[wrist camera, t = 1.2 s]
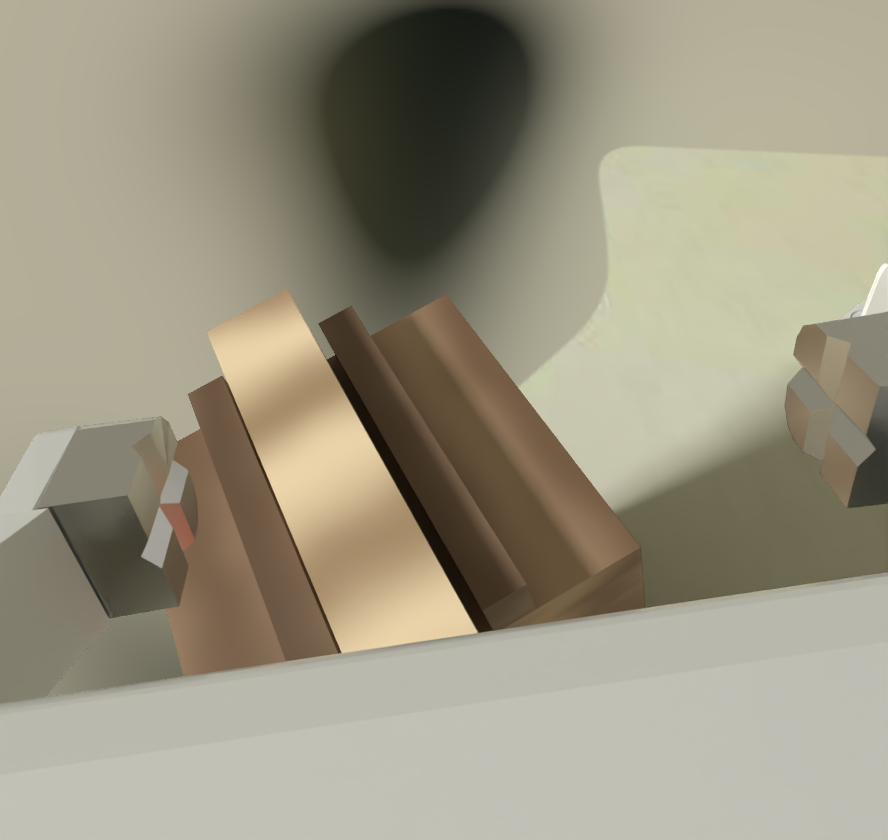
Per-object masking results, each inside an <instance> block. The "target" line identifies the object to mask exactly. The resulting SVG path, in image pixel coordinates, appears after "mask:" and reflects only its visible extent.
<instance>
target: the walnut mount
mask: <svg viewBox="0 0 888 840" xmlns="http://www.w3.org/2000/svg"><path fill="white" fill-rule="evenodd" d="M319 326H320V327H321V329H322V331H323V333H324V335H325V337H326V338H327V340H328V342H329V344H330V346H331V348H332V349H333V351H334V353H335V356H333V357H331V358H329V359H328V360H327V361H328V363H329V364H330V366H331V368H332V370H333V372H334V373H335V375H336V377H337V379H338V381H339V382H340V384H341V386H342V388H343V390H344V391H345V393H346V395H347V397H348V399H349V400H350V402H351V404H352V406H353V408H354V409H355V411H356V413H357V415H358V417H359V418H360V420H361V422H362V424H363V426H364V427H365V429H366V431H367V433H368V435H369V436H370V438H371V440H372V442H373V444H374V445H375V447H376V449H377V451H378V452H379V454H380V456H381V458H382V460H383V461H384V463H385V465H386V467H387V469H388V470H389V472H390V474H391V476H392V478H393V479H394V481H395V483H396V485H397V487H398V488H399V490H400V492H401V494H402V496H403V497H404V499H405V501H406V503H407V505H408V506H409V508H410V510H411V512H412V514H413V515H414V517H415V519H416V521H417V523H418V524H419V526H420V528H421V530H422V532H423V533H424V535H425V537H426V539H427V540H428V542H429V544H430V546H431V548H432V549H433V551H434V553H435V555H436V557H437V558H438V560H439V562H440V564H441V566H442V567H443V569H444V571H445V573H446V575H447V576H448V578H449V580H450V582H451V584H452V585H453V587H454V589H455V591H456V593H457V594H458V596H459V598H460V600H461V602H462V603H463V605H464V607H465V609H466V611H467V612H468V614H469V616H470V618H471V620H472V621H473V623H474V625H475V627H476V628H477V630H478V632H479V633H481V632H488V631H495V630H501V629H508V628H515V627H521V626H528V625H535V624H541V623H548V622H555V621H561V620H568V619H575V618H581V617H588V616H595V615H601V614H608V613H615V612H621V611H628V610H635V609H641V608H645V600H644V587H643V574H642V560H641V547H640V546H639V545H638V543H637V542H636V541H635V540H634V538H633V537H632V536H631V534H630V533H629V532H628V530H627V529H626V528H625V526H624V525H623V524H622V523H621V521H620V520H619V519H618V517H617V516H616V515H615V513H614V512H613V511H612V510H611V508H610V507H609V506H608V504H607V503H606V502H605V500H604V499H603V498H602V497H601V495H600V494H599V493H598V491H597V490H596V489H595V487H594V486H593V485H592V484H591V482H590V481H589V480H588V478H587V477H586V476H585V474H584V473H583V472H582V471H581V469H580V468H579V467H578V465H577V464H576V463H575V461H574V460H573V459H572V457H571V456H570V455H569V454H568V452H567V451H566V450H565V448H564V447H563V446H562V444H561V443H560V442H559V441H558V439H557V438H556V437H555V435H554V434H553V433H552V431H551V430H550V429H549V428H548V426H547V425H546V424H545V422H544V421H543V420H542V418H541V417H540V416H539V415H538V413H537V412H536V411H535V409H534V408H533V407H532V405H531V404H530V403H529V402H528V400H527V399H526V398H525V396H524V395H523V394H522V392H521V391H520V390H519V389H518V387H517V386H516V385H515V383H514V382H513V381H512V379H511V378H510V377H509V375H508V374H507V373H506V372H505V370H504V369H503V368H502V366H501V365H500V364H499V362H498V361H497V360H496V359H495V357H494V356H493V355H492V353H491V352H490V351H489V349H488V348H487V347H486V346H485V344H484V343H483V342H482V340H481V339H480V338H479V337H478V335H477V334H476V333H475V331H474V330H473V329H472V328H471V326H470V325H469V323H468V322H467V321H466V320H465V318H464V317H463V316H462V314H461V313H460V312H459V311H458V309H457V308H456V306H455V305H454V304H453V303H452V301H451V300H450V299H449V298H448V296H447V295H445V296H443V297H441V298H439V299H438V300H436V301H434V302H432V303H430V304H428V305H427V306H425V307H423V308H421V309H419V310H417V311H415V312H414V313H412V314H410V315H408V316H406V317H404V318H403V319H401V320H399V321H397V322H396V323H393V324H392V325H390V326H388V327H386V328H384V329H383V330H381V331H379V332H377V333H375V334H373V335H372V336H370V335H369V333H368V331H367V330H366V328H365V327H364V325H363V323H362V322H361V320H360V319H359V317H358V315H357V314H356V312H355V311H354V309H353V308H352V306H350V307H348V308H346V309H345V310H343V311H341V312H339V313H337V314H335V315H333V316H332V317H330V318H328V319H326V320H324V321H322V322H321V323H319ZM188 396H189V399H190V401H191V404H192V407H193V410H194V412H195V415H196V418H197V420H198V423H199V426H200V429H199V430H198V431H196V432H194V433H192V434H190V435H188V436H187V437H185V438H183V439H181V440H179V441H177V442H178V444H177V447H176V451H175V454H174V458H173V460H174V461H176V462H177V463H179V464H180V465H181V466H183V467H184V468H186V469H187V470H189V473H190V476H191V478H192V481H193V484H194V487H195V492H196V496H197V501H198V527H197V532H196V537H195V541H194V542H193V543H192V544H191V545H189V546H188V547H187V548H186V549H185V550H184V551H183V553H184V556H185V558H186V560H187V563H188V565H189V568H188V572H187V576H186V580H185V584H184V588H183V593H182V597H181V601H180V605H179V606H178V607H173V608H167V609H166V612H167V616H168V619H169V623H170V627H171V630H172V634H173V638H174V641H175V645H176V649H177V653H178V656H179V660H180V664H181V667H182V671H183V675H184V676H191V675H197V674H204V673H211V672H218V671H224V670H231V669H238V668H245V667H252V666H258V665H265V664H272V663H279V662H285V661H292V660H299V659H306V658H312V657H319V656H326V655H333V654H339V653H342V652H341V650H340V648H339V645H338V643H337V641H336V638H335V636H334V633H333V631H332V629H331V626H330V624H329V622H328V619H327V617H326V614H325V612H324V610H323V607H322V605H321V603H320V600H319V598H318V595H317V593H316V591H315V588H314V586H313V584H312V581H311V579H310V576H309V574H308V572H307V569H306V567H305V565H304V562H303V560H302V557H301V555H300V553H299V550H298V548H297V546H296V543H295V541H294V538H293V536H292V534H291V531H290V529H289V527H288V524H287V522H286V520H285V517H284V515H283V512H282V510H281V508H280V505H279V503H278V501H277V498H276V496H275V493H274V491H273V489H272V486H271V484H270V482H269V479H268V477H267V474H266V472H265V470H264V467H263V465H262V463H261V460H260V458H259V455H258V453H257V451H256V448H255V446H254V444H253V441H252V439H251V436H250V434H249V432H248V429H247V427H246V425H245V422H244V420H243V417H242V415H241V413H240V410H239V408H238V406H237V403H236V401H235V398H234V396H233V394H232V391H231V389H230V387H229V384H228V383H227V382H226V380H225V379H224V378H223V376H221V377H219V378H217V379H215V380H213V381H211V382H210V383H208V384H206V385H204V386H202V387H200V388H198V389H197V390H195V391H193V392H191V393H189V394H188Z"/></svg>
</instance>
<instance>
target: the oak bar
mask: <svg viewBox="0 0 888 840" xmlns="http://www.w3.org/2000/svg"><path fill="white" fill-rule="evenodd" d="M207 334H208V337H209V339H210V342H211V344H212V346H213V349H214V351H215V353H216V355H217V358H218V360H219V363H220V365H221V368H222V370H223V372H224V375H225V377H226V379H227V382H228V384H229V387H230V389H231V391H232V394H233V396H234V398H235V401H236V403H237V406H238V408H239V410H240V413H241V415H242V417H243V420H244V422H245V425H246V427H247V429H248V432H249V434H250V436H251V439H252V441H253V444H254V446H255V448H256V451H257V453H258V455H259V458H260V460H261V463H262V465H263V467H264V470H265V472H266V474H267V477H268V479H269V482H270V484H271V486H272V489H273V491H274V493H275V496H276V498H277V501H278V503H279V505H280V508H281V510H282V512H283V515H284V517H285V520H286V522H287V524H288V527H289V529H290V531H291V534H292V536H293V538H294V541H295V543H296V546H297V548H298V550H299V553H300V555H301V557H302V560H303V562H304V565H305V567H306V569H307V572H308V574H309V576H310V579H311V581H312V584H313V586H314V588H315V591H316V593H317V595H318V598H319V600H320V603H321V605H322V607H323V610H324V612H325V614H326V617H327V619H328V622H329V624H330V626H331V629H332V631H333V633H334V636H335V638H336V641H337V643H338V645H339V648H340V650H341V652H342V653H346V652H353V651H360V650H366V649H373V648H380V647H387V646H393V645H400V644H407V643H414V642H420V641H427V640H434V639H441V638H448V637H454V636H461V635H468V634H475V633H479V632H478V630H477V628H476V627H475V625H474V623H473V621H472V620H471V618H470V616H469V614H468V612H467V611H466V609H465V607H464V605H463V603H462V602H461V600H460V598H459V596H458V594H457V593H456V591H455V589H454V587H453V585H452V584H451V582H450V580H449V578H448V576H447V575H446V573H445V571H444V569H443V567H442V566H441V564H440V562H439V560H438V558H437V557H436V555H435V553H434V551H433V549H432V548H431V546H430V544H429V542H428V540H427V539H426V537H425V535H424V533H423V532H422V530H421V528H420V526H419V524H418V523H417V521H416V519H415V517H414V515H413V514H412V512H411V510H410V508H409V506H408V505H407V503H406V501H405V499H404V497H403V496H402V494H401V492H400V490H399V488H398V487H397V485H396V483H395V481H394V479H393V478H392V476H391V474H390V472H389V470H388V469H387V467H386V465H385V463H384V461H383V460H382V458H381V456H380V454H379V452H378V451H377V449H376V447H375V445H374V444H373V442H372V440H371V438H370V436H369V435H368V433H367V431H366V429H365V427H364V426H363V424H362V422H361V420H360V418H359V417H358V415H357V413H356V411H355V409H354V408H353V406H352V404H351V402H350V400H349V399H348V397H347V395H346V393H345V391H344V390H343V388H342V386H341V384H340V382H339V381H338V379H337V377H336V375H335V373H334V372H333V370H332V368H331V366H330V364H329V363H328V361H327V359H326V357H325V356H324V354H323V352H322V350H321V349H320V347H319V345H318V343H317V341H316V340H315V338H314V336H313V334H312V332H311V331H310V329H309V327H308V325H307V324H306V322H305V320H304V319H303V317H302V315H301V314H300V311H299V310H298V308H297V306H296V304H295V303H294V301H293V299H292V297H291V296H290V294H289V292H288V290H287V289H286V290H284V291H282V292H280V293H278V294H276V295H274V296H273V297H271V298H269V299H267V300H265V301H263V302H261V303H260V304H258V305H256V306H254V307H252V308H250V309H248V310H247V311H244V312H243V313H241V314H239V315H237V316H235V317H234V318H231V319H230V320H228V321H226V322H224V323H222V324H220V325H218V326H217V327H215V328H213V329H211V330H209V331H207Z"/></svg>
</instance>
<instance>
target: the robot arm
mask: <svg viewBox="0 0 888 840" xmlns="http://www.w3.org/2000/svg"><path fill="white" fill-rule="evenodd" d="M793 355H794V356H795V358H796V359H797V361H798V362H799V364H800V365H801V366H802V368H801V370H800V371H799V372H798V373H797V374H796V375H795V376H794V377H793V379H792V380H791V381H790V382H789V383H788V386H787V393H786V400H785V411H786V418H787V425H788V427H789V430H790V432H791V435H792V437H793V439H794V441H795V442H796V443H797V445H798V446H799V447H800V449H801V450H802V451H803V452H804V453H806V454H809V455H811V456H813V457H815V458H817V459H819V460H822V461H823V462H822V466H821V471H820V475H821V476H822V477H823V479H824V480H825V481H826V483H827V484H828V485H829V486H830V488H831V489H832V490H833V492H834V493H835V494H836V495H837V497H838V498H839V499H840V500H841V502H842V503H843V504H844V506H845V507H846V508H854V507H863V506H871V505H879V504H888V263H885V264H883V265H882V266H881V267H880V269H879V271H878V273H877V275H876V277H875V280H874V282H873V285H872V288H871V290H870V293H869V296H868V297H866V298H865V299H864V300H863V301H861V302H860V303H859V304H858V305H856V306H855V307H854V308H853V309H851V310H850V311H849V312H848V313H846V314H845V315H844V316H843V317H841V318H840V319H839V320H835V321H829V322H823V323H817V324H811V325H805V326H803V327H802V329H801V331H800V333H799V334H798V336H797V339H796V344H795V349H794V354H793ZM177 444H178V442H177V440H176V438H175V436H174V433H173V431H172V429H171V426H170V424H169V422H168V421H166V420H165V419H164V418H163V417H161V416H160V417H152V418H143V419H135V420H127V421H119V422H110V423H102V424H94V425H86V426H83V427H79V426H76V427H69V428H63V429H56V430H50V431H44V432H42V433H40V434H37V435H36V436H35V437H34V438H33V440H32V442H31V444H30V445H29V447H28V449H27V451H26V452H25V454H24V456H23V458H22V459H21V461H20V463H19V465H18V467H17V468H16V470H15V472H14V474H13V475H12V477H11V479H10V481H9V483H8V484H7V486H6V488H5V489H4V491H3V493H2V495H1V497H0V840H888V572H885V573H878V574H871V575H864V576H858V577H851V578H844V579H837V580H831V581H824V582H817V583H810V584H803V585H797V586H790V587H783V588H776V589H770V590H763V591H756V592H749V593H742V594H736V595H729V596H722V597H715V598H709V599H702V600H695V601H688V602H681V603H675V604H668V605H661V606H655V607H648V608H641V609H635V610H628V611H621V612H615V613H608V614H601V615H595V616H588V617H581V618H575V619H568V620H561V621H555V622H548V623H541V624H535V625H528V626H521V627H515V628H508V629H501V630H495V631H488V632H481V633H475V634H468V635H461V636H454V637H448V638H441V639H434V640H427V641H420V642H414V643H407V644H400V645H393V646H387V647H380V648H373V649H366V650H360V651H353V652H346V653H339V654H333V655H326V656H319V657H312V658H306V659H299V660H292V661H285V662H279V663H272V664H265V665H258V666H252V667H245V668H238V669H231V670H224V671H218V672H211V673H204V674H197V675H191V676H184V677H177V678H170V679H164V680H157V681H150V682H143V683H137V684H130V685H123V686H116V687H110V688H103V689H96V690H89V691H83V692H76V693H69V694H63V695H56V696H49V697H46V696H47V695H48V694H49V693H50V691H51V690H52V689H53V688H54V687H55V686H56V684H57V683H58V682H59V681H60V680H61V679H62V678H63V676H64V675H65V674H66V673H67V672H68V671H69V669H70V668H71V667H72V666H73V665H74V664H75V662H76V661H77V660H78V659H79V658H80V657H81V656H82V654H83V653H84V652H85V651H86V650H87V649H88V647H89V646H90V645H91V644H92V643H93V642H94V641H95V639H96V638H97V637H98V636H99V635H100V634H101V632H102V631H103V630H104V629H105V628H106V627H107V626H108V624H109V623H110V618H115V617H121V616H127V615H132V614H138V613H144V612H149V611H155V610H161V609H167V608H173V607H178V606H179V605H180V601H181V597H182V593H183V588H184V584H185V580H186V576H187V572H188V568H189V565H188V563H187V560H186V558H185V556H184V553H183V551H184V550H185V549H186V548H187V547H188V546H189V545H191V544H192V543H193V542H194V541H195V537H196V532H197V527H198V501H197V496H196V492H195V487H194V484H193V481H192V478H191V476H190V473H189V470H187V469H186V468H184V467H183V466H181V465H180V464H179V463H177V462H176V461H174V460H173V458H174V454H175V451H176V447H177Z"/></svg>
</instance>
